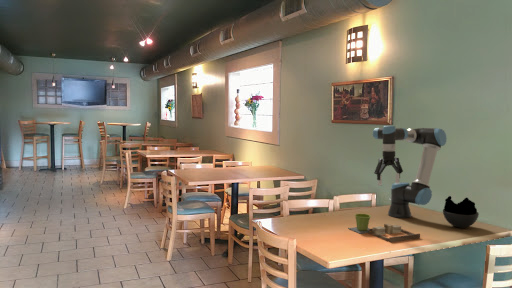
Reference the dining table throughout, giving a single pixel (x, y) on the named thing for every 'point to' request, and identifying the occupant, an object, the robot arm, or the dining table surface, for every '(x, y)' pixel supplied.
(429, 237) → the dining table surface
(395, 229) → the offcut right
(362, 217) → the plant pot
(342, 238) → the dining table surface
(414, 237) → the dark brown tray
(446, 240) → the dining table surface
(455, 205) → the coal bowl
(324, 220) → the dining table surface
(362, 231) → the mat
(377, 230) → the offcut left
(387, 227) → the offcut top
